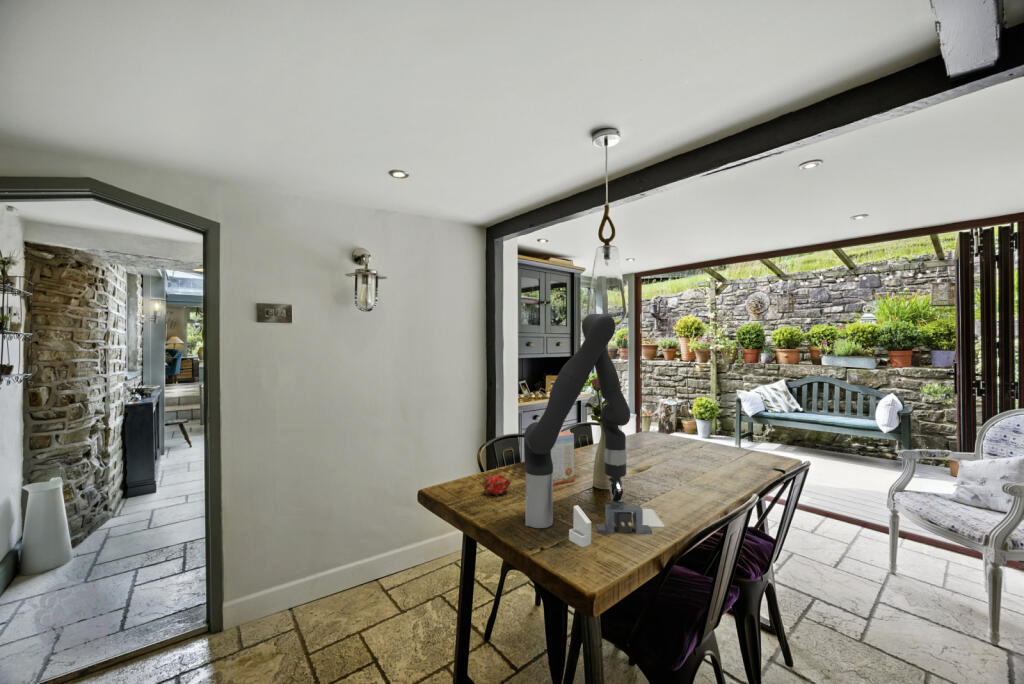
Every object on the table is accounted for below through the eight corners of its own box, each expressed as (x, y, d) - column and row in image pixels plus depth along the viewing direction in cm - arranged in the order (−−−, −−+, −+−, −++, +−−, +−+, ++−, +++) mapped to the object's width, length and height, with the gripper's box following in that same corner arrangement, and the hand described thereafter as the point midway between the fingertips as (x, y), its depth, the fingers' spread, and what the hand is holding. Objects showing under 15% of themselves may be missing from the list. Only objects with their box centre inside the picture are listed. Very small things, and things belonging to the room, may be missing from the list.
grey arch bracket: (598, 533, 135) (598, 509, 135) (596, 527, 139) (596, 504, 139) (652, 533, 134) (652, 510, 134) (648, 528, 138) (648, 505, 138)
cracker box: (567, 477, 188) (567, 430, 188) (574, 481, 182) (574, 433, 182) (539, 482, 182) (539, 433, 182) (546, 486, 177) (546, 436, 176)
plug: (620, 534, 134) (620, 515, 134) (611, 516, 147) (611, 499, 147) (633, 534, 134) (633, 515, 134) (622, 516, 147) (622, 499, 147)
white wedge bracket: (568, 523, 136) (577, 504, 132) (587, 550, 129) (598, 531, 125) (559, 526, 134) (569, 507, 130) (578, 554, 127) (589, 534, 123)
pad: (640, 527, 139) (640, 526, 139) (629, 509, 153) (629, 508, 153) (665, 527, 139) (665, 526, 139) (652, 510, 153) (652, 509, 153)
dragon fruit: (479, 499, 167) (507, 499, 172) (487, 492, 161) (516, 492, 166) (478, 477, 172) (505, 478, 177) (485, 470, 166) (513, 471, 170)
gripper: (600, 455, 156) (600, 502, 156) (608, 466, 143) (608, 517, 143) (621, 455, 156) (621, 502, 156) (631, 466, 142) (630, 518, 143)
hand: (615, 509), depth 149 cm, fingers closed
